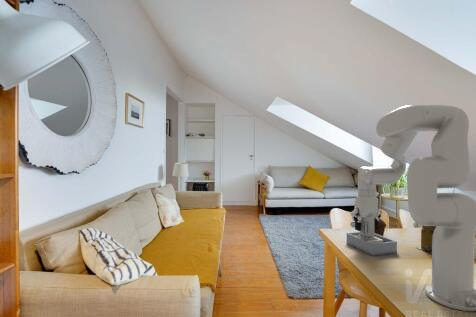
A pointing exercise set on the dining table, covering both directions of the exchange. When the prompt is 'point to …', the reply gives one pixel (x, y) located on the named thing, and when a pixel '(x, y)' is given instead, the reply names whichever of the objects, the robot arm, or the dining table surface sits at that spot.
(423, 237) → the condiment
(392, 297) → the dining table surface
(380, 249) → the walled box
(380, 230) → the muffin
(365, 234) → the energy drink can
